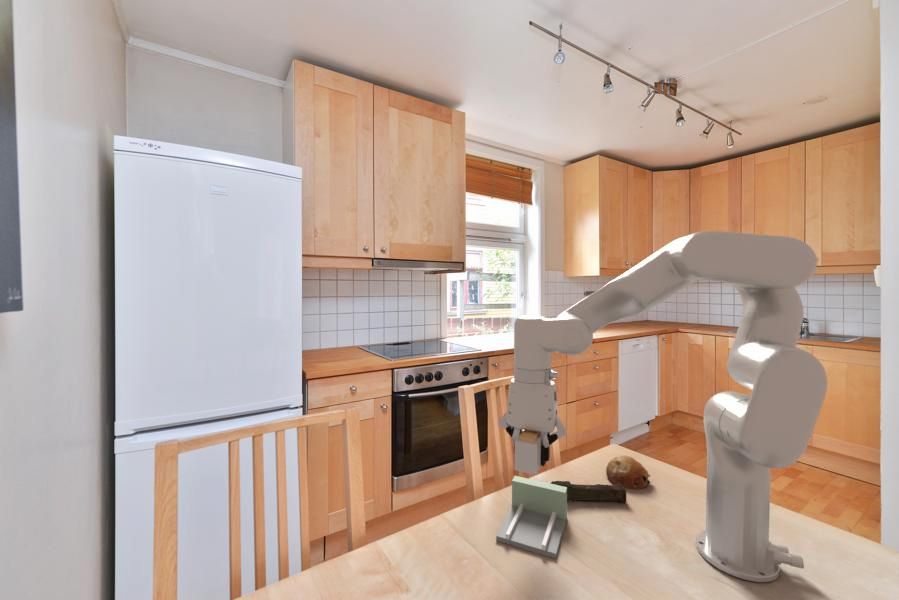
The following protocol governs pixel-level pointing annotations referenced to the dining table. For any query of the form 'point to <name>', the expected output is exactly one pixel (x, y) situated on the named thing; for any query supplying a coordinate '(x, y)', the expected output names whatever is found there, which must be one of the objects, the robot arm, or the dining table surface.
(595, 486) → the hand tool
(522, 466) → the holder
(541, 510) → the chute mount
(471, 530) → the dining table surface
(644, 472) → the bread roll
